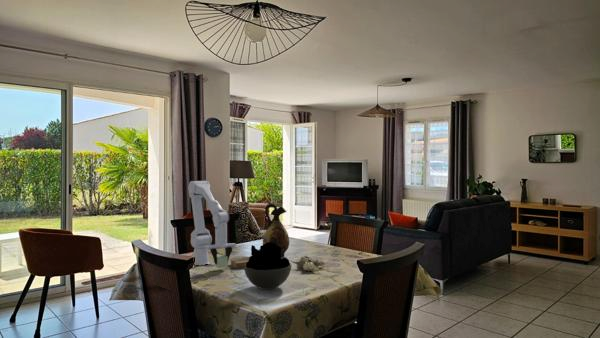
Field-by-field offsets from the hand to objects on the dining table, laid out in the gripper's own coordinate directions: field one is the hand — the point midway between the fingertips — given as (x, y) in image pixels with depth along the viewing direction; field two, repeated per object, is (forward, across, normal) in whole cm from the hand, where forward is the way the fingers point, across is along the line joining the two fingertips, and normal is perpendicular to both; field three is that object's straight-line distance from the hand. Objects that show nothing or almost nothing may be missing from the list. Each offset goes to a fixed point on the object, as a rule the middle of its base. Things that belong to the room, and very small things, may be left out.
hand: (221, 263), depth 201 cm
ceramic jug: (+4, +36, +18) cm, 40 cm away
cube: (+2, 0, 0) cm, 2 cm away
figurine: (+4, +40, -19) cm, 45 cm away
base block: (+3, +13, +4) cm, 14 cm away
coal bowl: (+4, +10, -38) cm, 40 cm away
